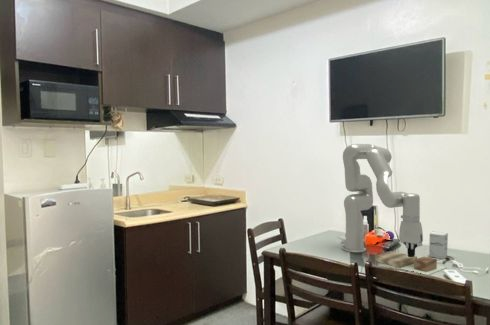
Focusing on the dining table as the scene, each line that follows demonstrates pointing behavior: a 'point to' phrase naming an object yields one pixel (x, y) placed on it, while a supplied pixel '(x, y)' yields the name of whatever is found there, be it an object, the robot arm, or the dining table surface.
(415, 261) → the brown wooden block
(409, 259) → the birch deck
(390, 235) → the kendama
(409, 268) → the sage mat
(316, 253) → the dining table surface
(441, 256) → the supplement box
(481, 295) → the dining table surface
